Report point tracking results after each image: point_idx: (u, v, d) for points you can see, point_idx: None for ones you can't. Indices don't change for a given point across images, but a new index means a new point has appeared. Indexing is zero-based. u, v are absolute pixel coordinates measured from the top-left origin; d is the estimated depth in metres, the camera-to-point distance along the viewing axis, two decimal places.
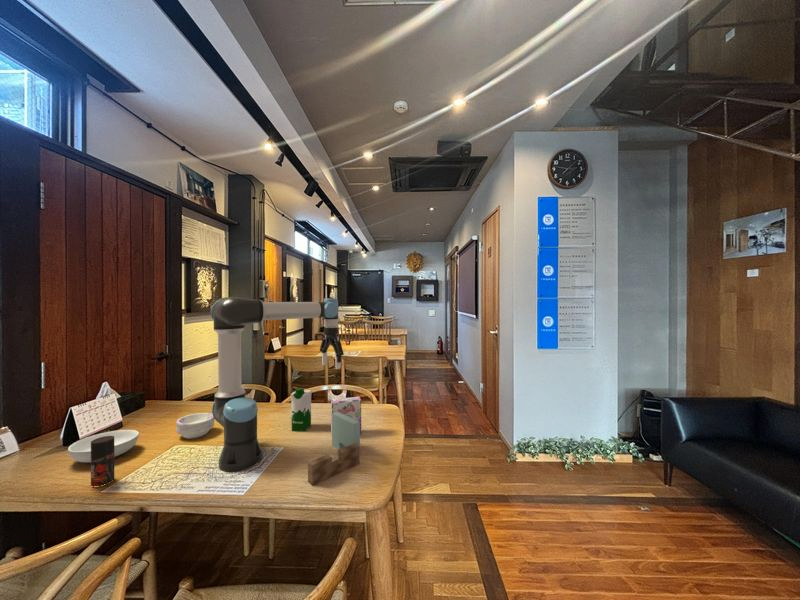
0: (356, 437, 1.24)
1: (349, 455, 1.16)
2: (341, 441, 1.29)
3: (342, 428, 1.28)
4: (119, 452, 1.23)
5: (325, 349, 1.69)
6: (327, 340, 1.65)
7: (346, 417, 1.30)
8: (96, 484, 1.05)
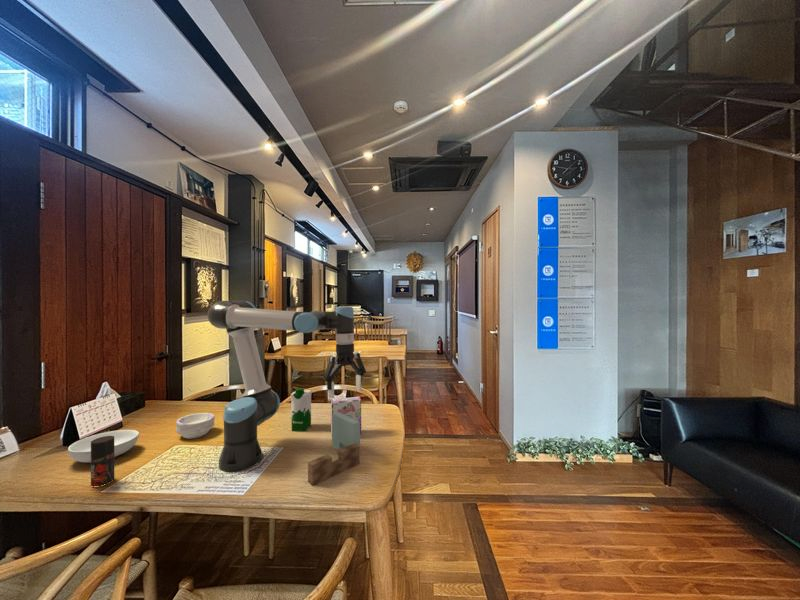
0: (356, 437, 1.24)
1: (349, 455, 1.16)
2: (341, 441, 1.29)
3: (342, 428, 1.28)
4: (119, 452, 1.23)
5: (356, 371, 1.34)
6: None
7: (346, 417, 1.30)
8: (96, 484, 1.05)
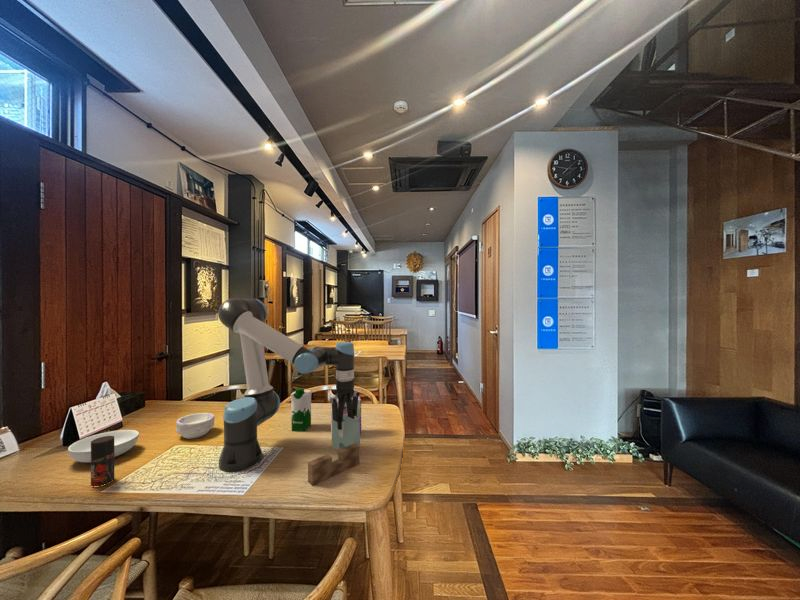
0: (356, 437, 1.24)
1: (349, 455, 1.16)
2: (341, 441, 1.29)
3: None
4: (119, 452, 1.23)
5: (348, 411, 1.31)
6: None
7: (346, 417, 1.30)
8: (96, 484, 1.05)
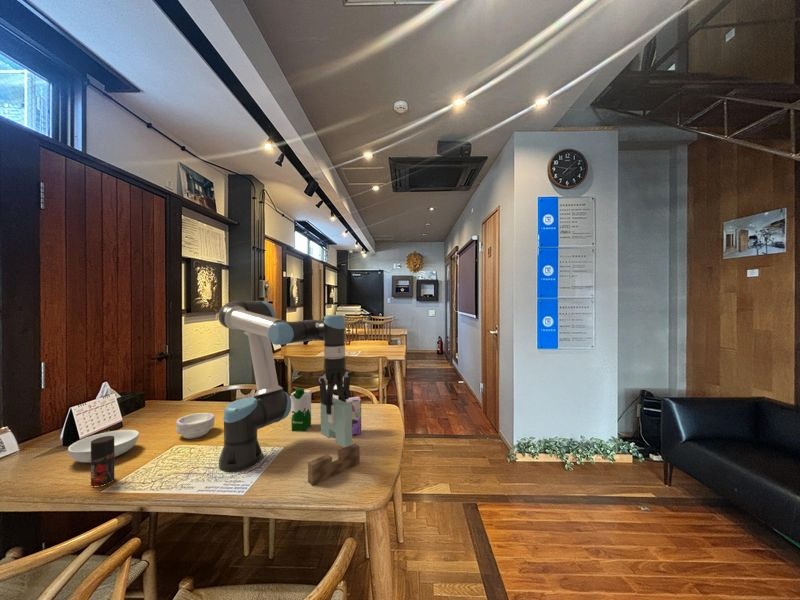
0: (347, 423, 1.07)
1: (349, 455, 1.16)
2: (331, 428, 1.12)
3: None
4: (119, 452, 1.23)
5: (339, 394, 1.15)
6: None
7: (336, 400, 1.13)
8: (96, 484, 1.05)
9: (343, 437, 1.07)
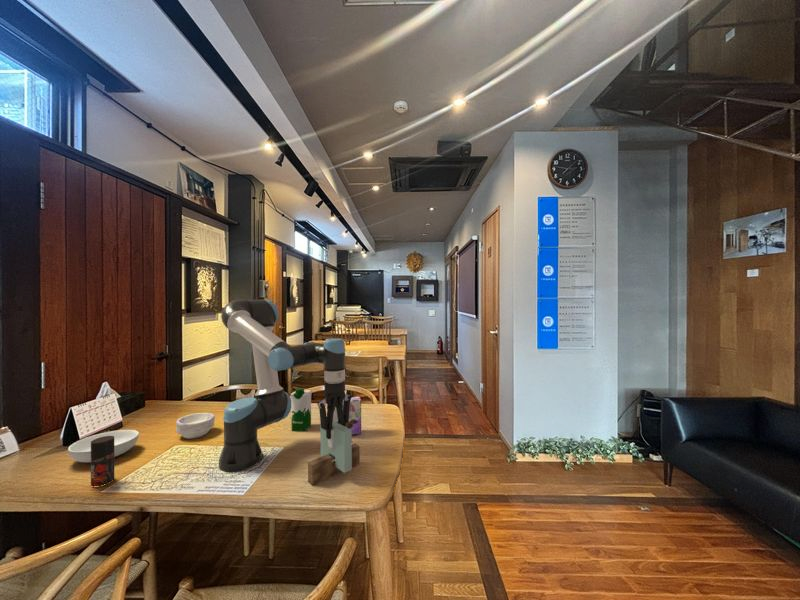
0: (347, 448, 1.07)
1: None
2: (330, 452, 1.13)
3: None
4: (119, 452, 1.23)
5: (339, 418, 1.15)
6: None
7: (336, 424, 1.13)
8: (96, 484, 1.05)
9: (343, 462, 1.07)
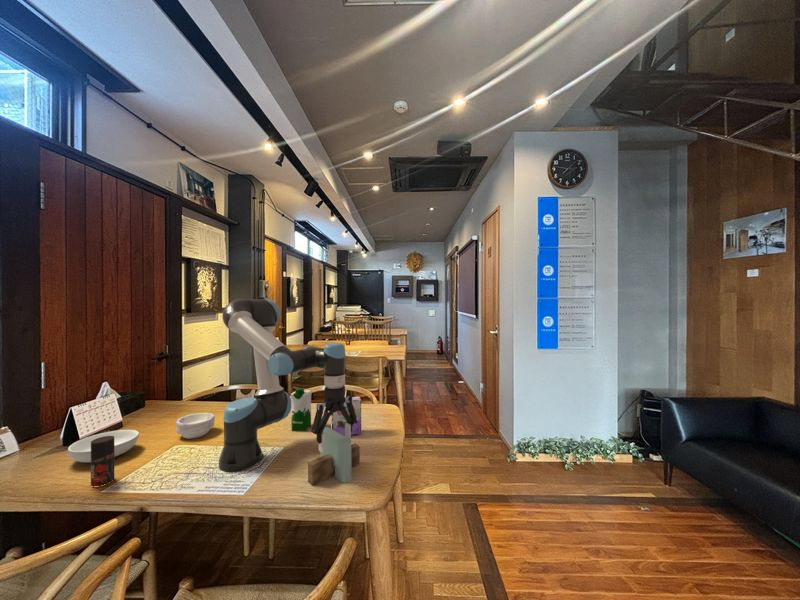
0: (347, 458, 1.07)
1: None
2: None
3: (331, 446, 1.12)
4: (119, 452, 1.23)
5: (345, 418, 1.17)
6: None
7: (336, 434, 1.13)
8: (96, 484, 1.05)
9: (342, 472, 1.07)
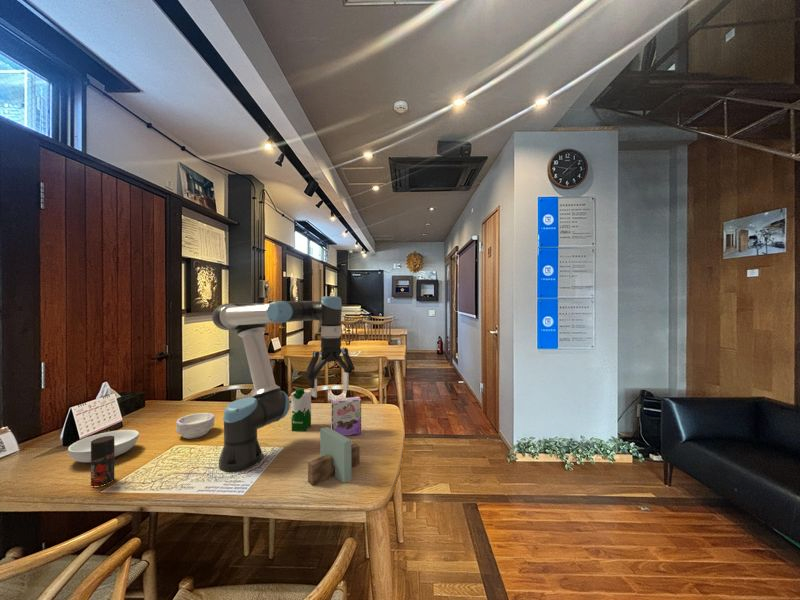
0: (347, 458, 1.07)
1: None
2: None
3: (331, 446, 1.12)
4: (119, 452, 1.23)
5: (343, 367, 1.21)
6: None
7: (336, 434, 1.13)
8: (96, 484, 1.05)
9: (342, 472, 1.07)
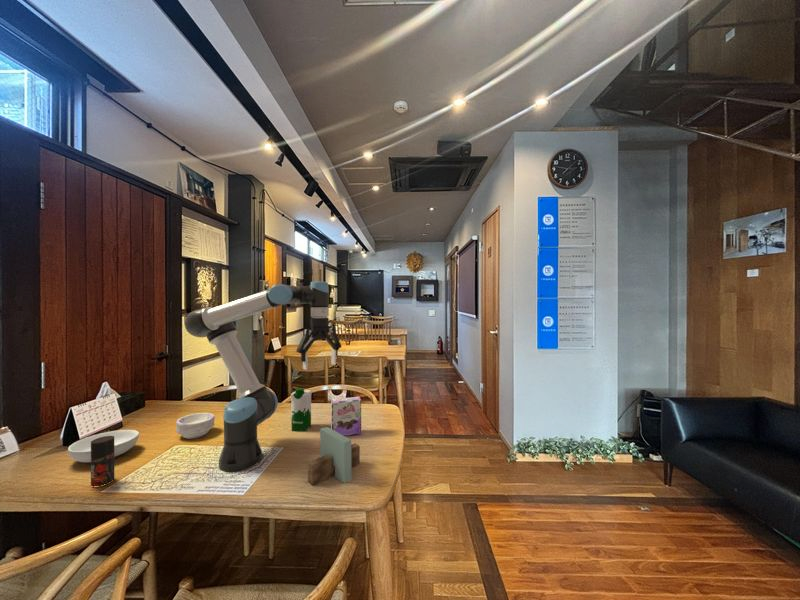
0: (347, 458, 1.07)
1: None
2: None
3: (331, 446, 1.12)
4: (119, 452, 1.23)
5: (331, 345, 1.37)
6: None
7: (336, 434, 1.13)
8: (96, 484, 1.05)
9: (342, 472, 1.07)
